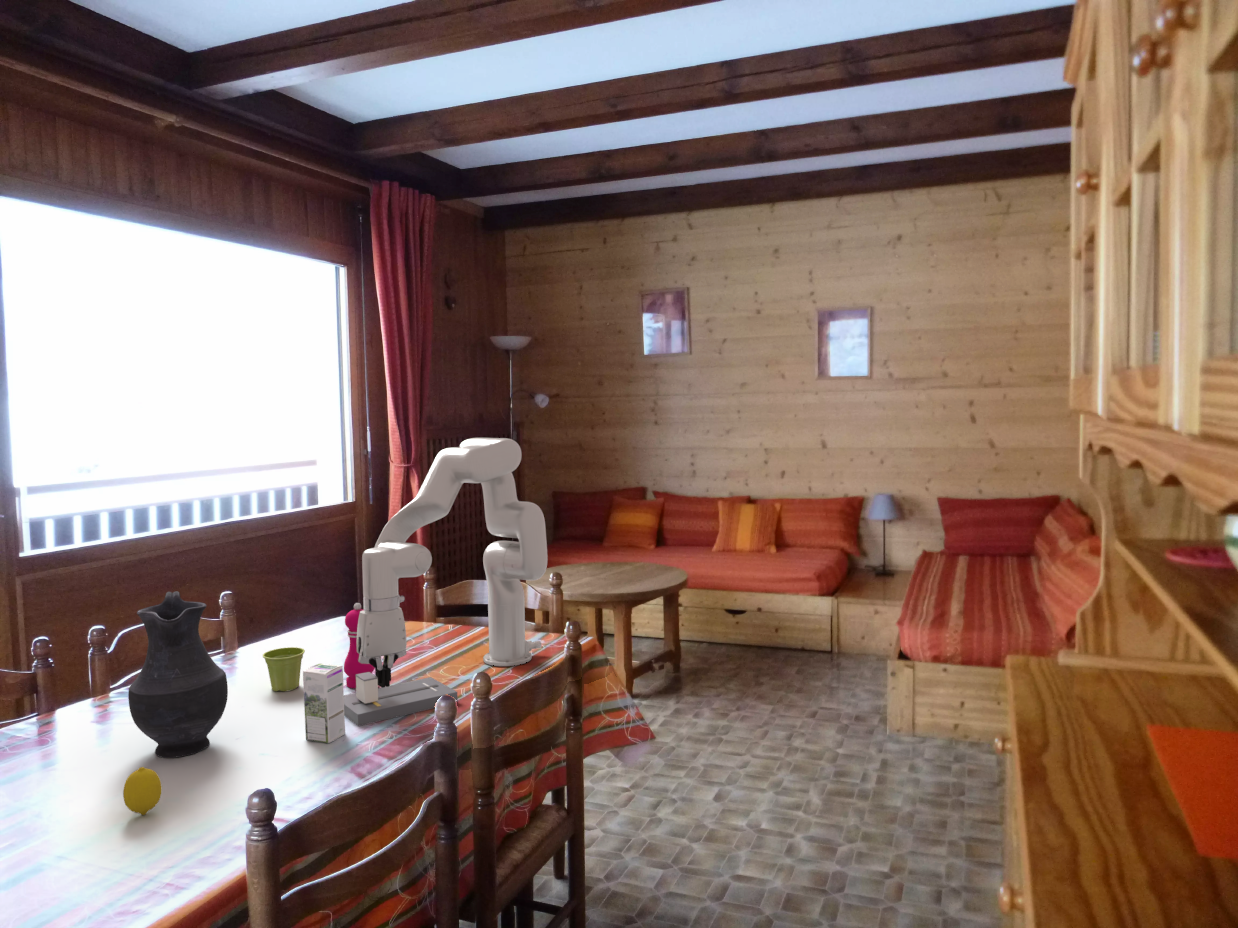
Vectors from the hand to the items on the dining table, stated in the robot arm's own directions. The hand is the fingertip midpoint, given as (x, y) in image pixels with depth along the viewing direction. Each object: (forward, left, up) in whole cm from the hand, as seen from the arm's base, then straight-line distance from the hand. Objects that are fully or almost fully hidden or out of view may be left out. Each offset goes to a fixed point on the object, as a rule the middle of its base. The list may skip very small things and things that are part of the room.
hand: (383, 685), depth 193 cm
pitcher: (+40, -5, -5) cm, 41 cm away
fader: (+4, 0, -2) cm, 4 cm away
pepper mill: (-2, -20, -5) cm, 21 cm away
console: (-3, 0, -5) cm, 6 cm away
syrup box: (+16, +9, -5) cm, 19 cm away
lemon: (+51, +24, -5) cm, 57 cm away
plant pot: (+13, -29, -6) cm, 32 cm away
